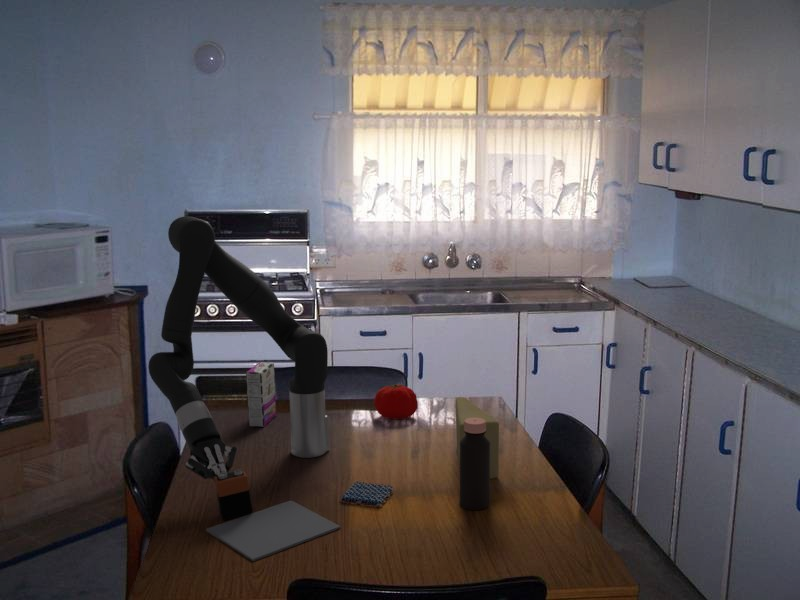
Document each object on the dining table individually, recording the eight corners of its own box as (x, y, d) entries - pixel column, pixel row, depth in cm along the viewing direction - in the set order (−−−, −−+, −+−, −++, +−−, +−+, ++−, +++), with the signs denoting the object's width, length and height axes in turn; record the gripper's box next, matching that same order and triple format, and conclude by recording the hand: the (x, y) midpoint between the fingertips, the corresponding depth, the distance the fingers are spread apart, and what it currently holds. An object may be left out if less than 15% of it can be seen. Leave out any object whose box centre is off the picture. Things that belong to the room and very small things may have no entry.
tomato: (417, 423, 262) (417, 389, 260) (373, 423, 262) (373, 389, 260) (417, 411, 273) (417, 378, 271) (375, 411, 273) (374, 378, 271)
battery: (219, 513, 202) (212, 472, 200) (249, 506, 204) (243, 465, 202) (222, 521, 198) (215, 479, 196) (253, 513, 200) (246, 471, 198)
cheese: (441, 450, 240) (441, 395, 237) (477, 447, 242) (477, 393, 239) (460, 482, 219) (460, 422, 216) (499, 479, 220) (500, 420, 218)
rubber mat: (291, 502, 208) (290, 500, 208) (340, 528, 194) (340, 526, 194) (206, 531, 194) (205, 528, 194) (252, 561, 180) (252, 559, 180)
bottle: (469, 513, 201) (470, 427, 197) (453, 502, 207) (454, 418, 203) (495, 507, 204) (496, 422, 200) (479, 496, 210) (479, 414, 206)
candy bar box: (261, 414, 271) (258, 361, 267) (277, 415, 270) (275, 362, 266) (247, 426, 260) (245, 371, 257) (264, 427, 259) (261, 372, 256)
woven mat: (396, 492, 214) (396, 484, 214) (381, 510, 204) (380, 502, 204) (355, 487, 217) (355, 479, 217) (338, 505, 207) (338, 496, 207)
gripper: (175, 423, 203) (205, 491, 196) (227, 410, 211) (257, 475, 204) (166, 439, 208) (194, 506, 201) (217, 426, 216) (246, 490, 209)
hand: (226, 490), depth 203 cm, fingers closed
